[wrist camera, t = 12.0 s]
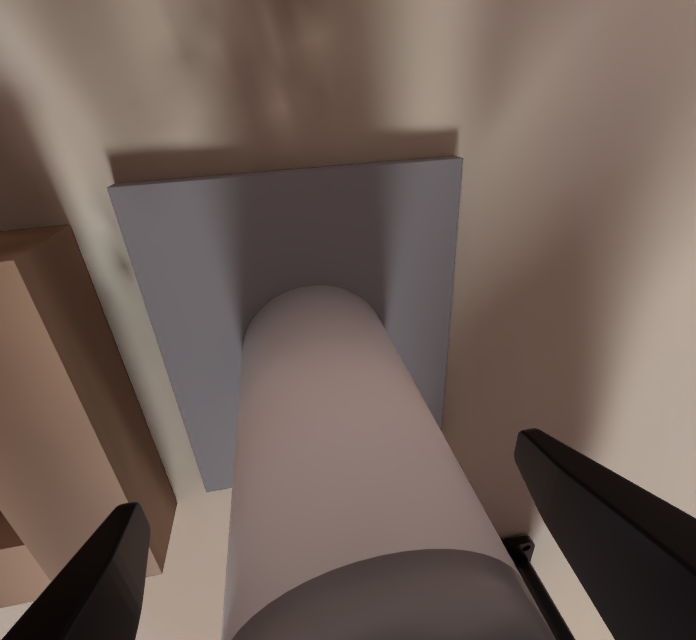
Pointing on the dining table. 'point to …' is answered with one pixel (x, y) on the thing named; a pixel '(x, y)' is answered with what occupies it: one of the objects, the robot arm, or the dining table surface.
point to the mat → (288, 271)
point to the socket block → (65, 418)
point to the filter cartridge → (354, 494)
